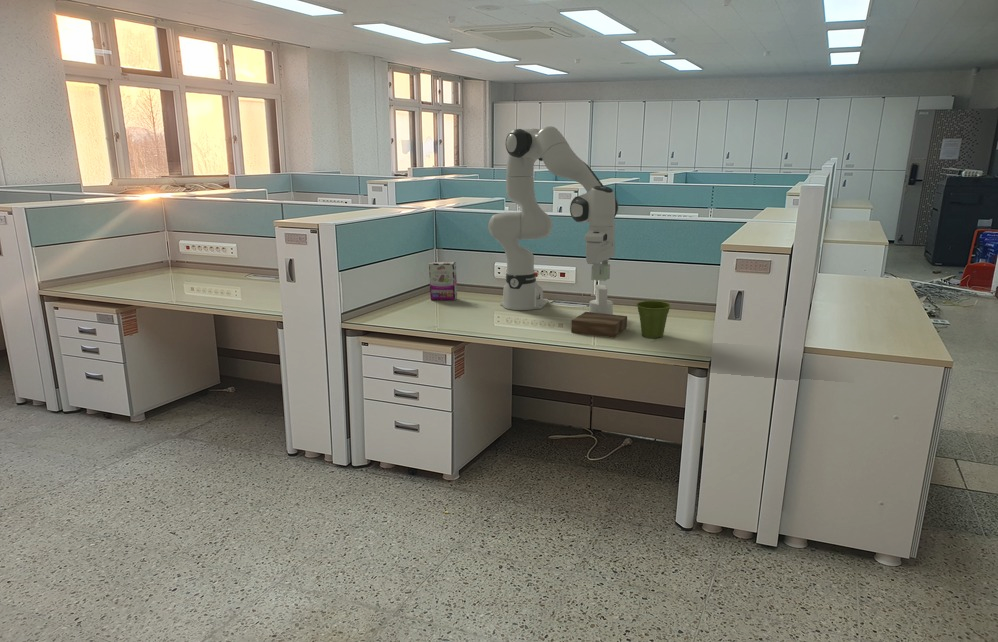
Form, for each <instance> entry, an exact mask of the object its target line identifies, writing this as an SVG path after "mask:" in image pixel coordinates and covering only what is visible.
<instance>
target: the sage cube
mask: <svg viewBox="0 0 998 642" xmlns="http://www.w3.org/2000/svg"><path fill="white" fill-rule="evenodd" d="M600 270H601V274H600V275H595V270H594V266H593V264H591V281H599V282H600V281H601V282H602V281H603V282H606V281H608V280H609V279H610V275H611V274H610V273H611V264H609V263H608V264H602V263H600Z"/></svg>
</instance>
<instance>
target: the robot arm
mask: <svg viewBox="0 0 998 642" xmlns="http://www.w3.org/2000/svg"><path fill="white" fill-rule="evenodd" d="M505 148H506V151H507V154H508V156H507V162H506V171H505V173H506V174H505V175H506V176H505V182H506V183H505V187H506V189H505V191H506V196H507V198H508V200H509V201H511V202H512V203H514V204H516V205H518V206H520V207H521V211H519V212H517V211H516V212H514V211H513V212H511V211H510V212H500V213H495V214H493V215H492V216H491V217H490V219H489V221H488V225H487V226H488V227H487V228H488V232H489V234H490V235H491V237H492V238H493V239H495V240H496V241H497V242H498V243H499V244H500V245H501V247H502V248H503V250H504V254H505V258H506V259H505V260H506V273H505V282H506V283H505V284H504V285H503V291H502V292H503V293H502V301H500V302H499V304H500V306H502V307H503V308H505V309H507V310H514V311H528V310H530V311H531V310H541V309H543V308H544V307H545V306H546V305H547V304H548V303H549V299H548V298H544V291H543V289H544V288H542V286H540V285H539V284H538V282H537V278H538V276H539V273H538V272H537V271H536V272H535V267H534V266H535V256H534V253H533V252H532V251H531V250H530V249H528V248H526V247H523V246H522V245H521V244H520V243H519V241H520V240H540V239H544V238H548V237H549V235H550V234H551V232H552V231H553V221H552V219H551V217H550V215H549V214H548V213H547V212H545V211H544V210H543V209H542V208H541V206H540V205H539V203H538V202H537V199H536V194H535V177H534V176H535V175H534V174H535V171H534V166H535V162H536V161H537V160H538V161H540V162H543V164H544V165H545V168H547V170H548V171H549V173H551V174H552V175H554V176H556V177H558V178H565V179H567V180H572V181H575V182H576V183H578V184H580V185H581V186H582V187H583V188H584V190H585V191H586V193H583V194H581V195H577V196H575V197H574V198H573V199H572V200H571V202H570V205H569V212H570V216H571V218H572V219H573V220H574V222H577V223H589V225H588V231H587V232H586V233H585V235H584V241H585V243H586V244H585V260H586V264H588V265H593V266H594V270H595V275H600V274H601V270H600V264H609V259H611V258H613V257H615V254H616V253H615V251H616V250H615V248H616V247H615V244H616V243H615V229H616V227H615V226H616V224H615V217H616V216H617V214H618V210H619V203H618V200H617V198H616V197H615V191H614V189H613V188H611V187H609V186H606V185H605V186H604V185H603V183H602V182H601V180H600V178H598V177H597V175H596V173H594V171H593V169H591V167H590V166H589V165H588V164H587V163H586V162H584V161H583V160H582V159H581V158H580V157H579V156H578V155H577V154H576V153H575V152H574V150H573V149H572V147H571V146H570V144H569V143H568V141H567V140H566V138H565V137H564V135H563V134H562V132H560V130H558V128H556V127H555V126H548V125H547V126H545V127H542V128H541V129H540V128H524V129H522V128H516V129H513V130H511V131H509V132H508V134H507V136H506V139H505Z"/></svg>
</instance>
